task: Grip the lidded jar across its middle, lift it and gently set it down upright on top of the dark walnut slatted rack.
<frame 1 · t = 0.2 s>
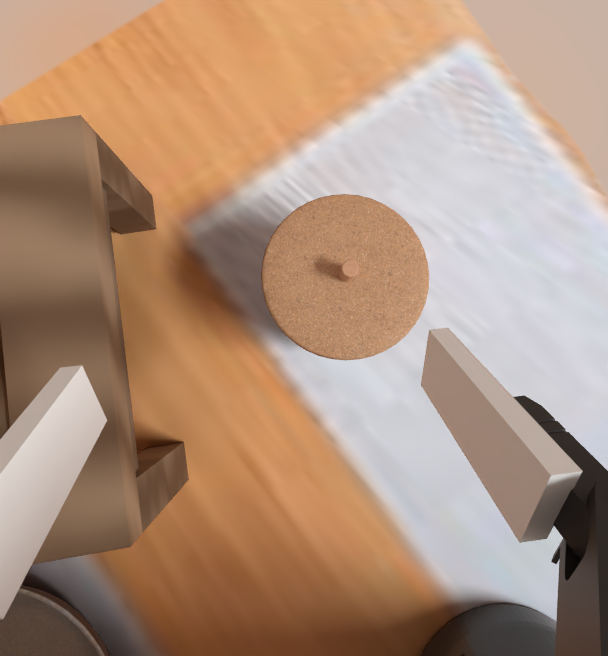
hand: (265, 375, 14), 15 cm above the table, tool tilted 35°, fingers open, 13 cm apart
lidded jar: (332, 296, 30), on the table
walnut rack: (23, 355, 29), on the table
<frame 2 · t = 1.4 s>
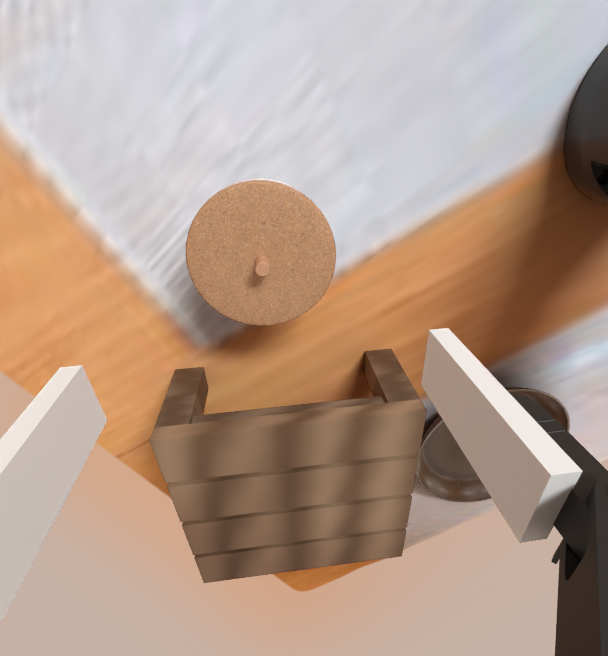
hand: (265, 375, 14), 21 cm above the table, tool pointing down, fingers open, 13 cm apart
lidded jar: (262, 232, 32), on the table
plant saucer: (479, 432, 49), on the table
walnut rack: (292, 435, 45), on the table
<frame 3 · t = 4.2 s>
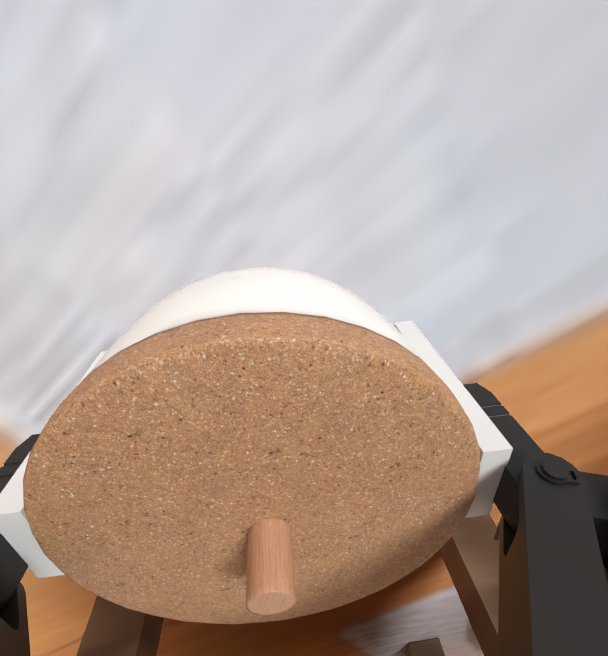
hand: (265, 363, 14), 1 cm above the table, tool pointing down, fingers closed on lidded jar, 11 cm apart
lidded jar: (265, 347, 15), on the table, touching gripper
walnut rack: (311, 615, 28), on the table
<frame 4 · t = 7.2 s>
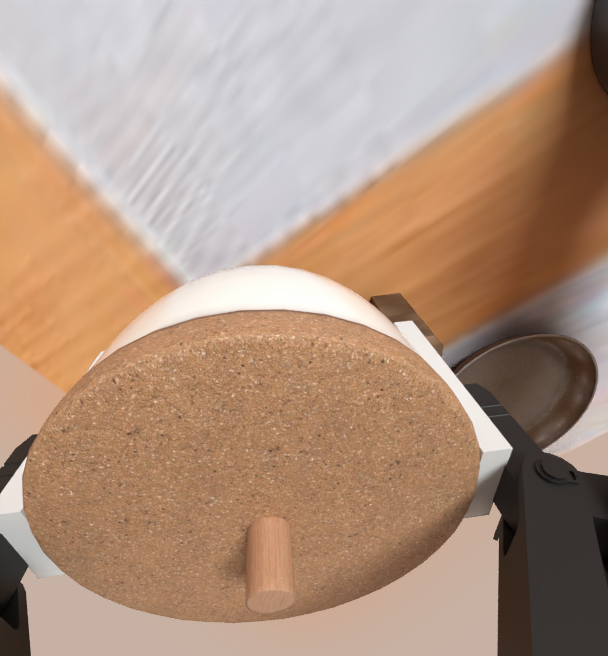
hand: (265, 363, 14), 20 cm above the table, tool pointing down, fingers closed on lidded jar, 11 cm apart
lidded jar: (264, 346, 15), point 19 cm above the table, touching gripper
plant saucer: (498, 390, 45), on the table
walnut rack: (296, 396, 42), on the table
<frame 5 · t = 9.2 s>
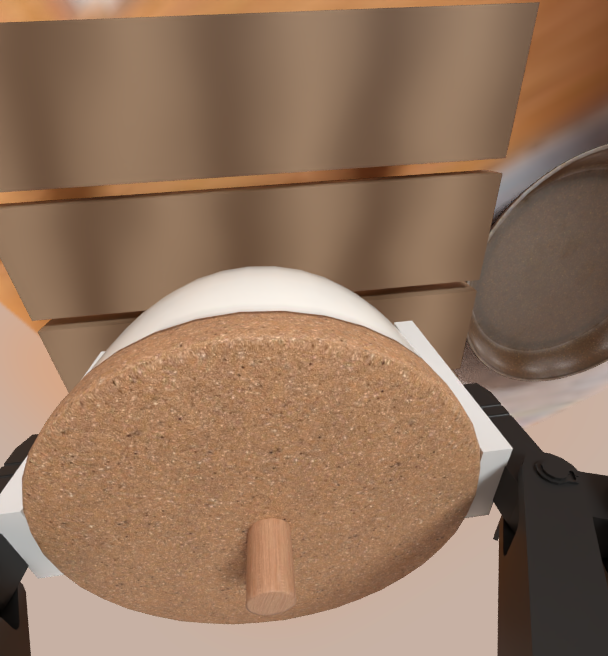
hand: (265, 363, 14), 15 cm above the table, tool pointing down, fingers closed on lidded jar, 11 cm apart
lidded jar: (264, 347, 15), point 14 cm above the table, touching gripper
plant saucer: (555, 267, 32), on the table
walnut rack: (264, 249, 28), on the table
when the fingers open (13 cm above the table, at t = 10.6 s): lidded jar drops 2 cm, resting on walnut rack.
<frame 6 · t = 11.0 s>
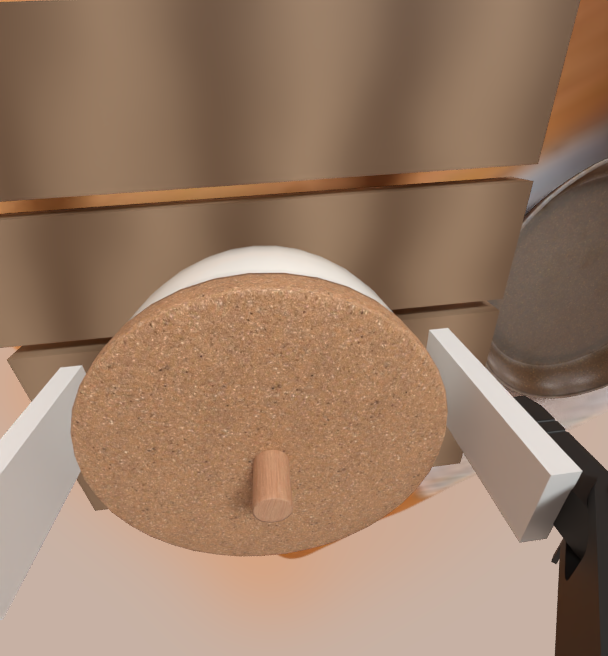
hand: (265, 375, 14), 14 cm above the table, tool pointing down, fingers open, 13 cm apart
lidded jar: (266, 324, 17), point 10 cm above the table, touching walnut rack
plant saucer: (573, 277, 30), on the table
walnut rack: (262, 260, 25), on the table
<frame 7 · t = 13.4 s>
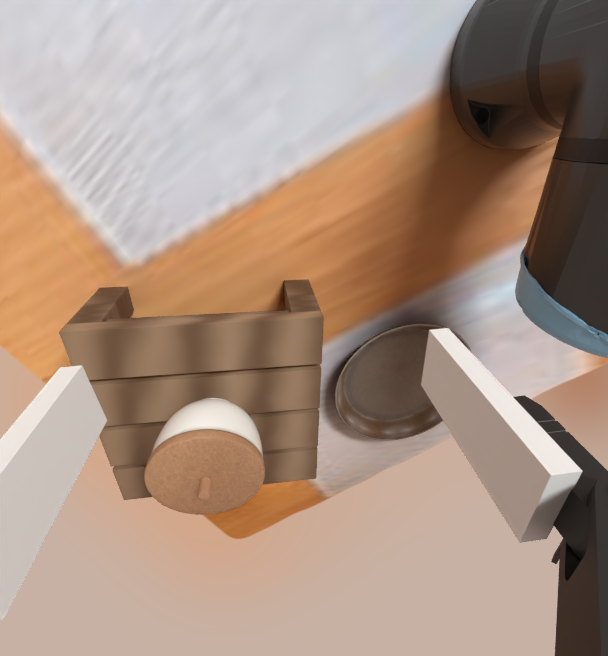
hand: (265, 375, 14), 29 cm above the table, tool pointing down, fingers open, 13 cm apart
lidded jar: (213, 417, 39), point 10 cm above the table, touching walnut rack
plant saucer: (397, 373, 53), on the table
walnut rack: (218, 366, 47), on the table
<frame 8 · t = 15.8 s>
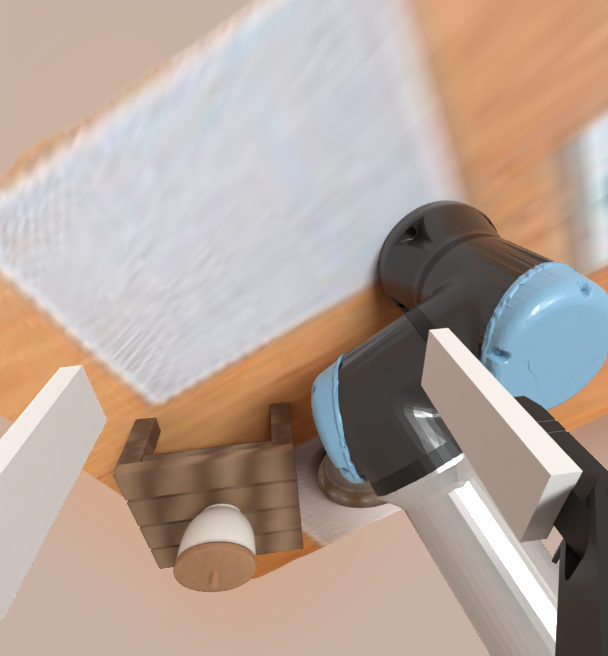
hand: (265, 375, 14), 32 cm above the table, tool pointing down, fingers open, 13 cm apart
lidded jar: (221, 514, 53), point 10 cm above the table, touching walnut rack
plant saucer: (369, 456, 66), on the table
walnut rack: (225, 461, 61), on the table
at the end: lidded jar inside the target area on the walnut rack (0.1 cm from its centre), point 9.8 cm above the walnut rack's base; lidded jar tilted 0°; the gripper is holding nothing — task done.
